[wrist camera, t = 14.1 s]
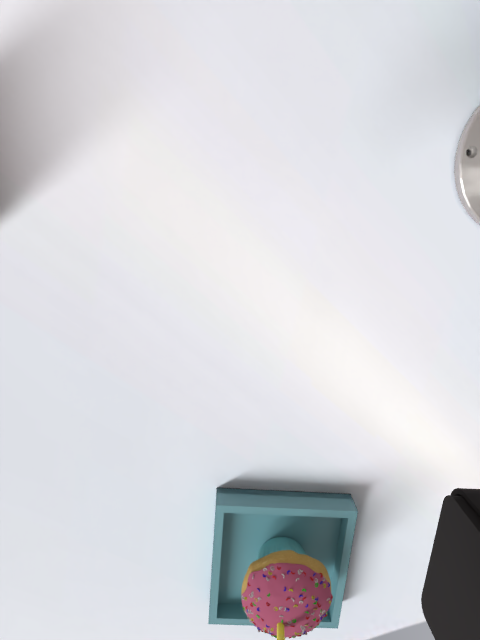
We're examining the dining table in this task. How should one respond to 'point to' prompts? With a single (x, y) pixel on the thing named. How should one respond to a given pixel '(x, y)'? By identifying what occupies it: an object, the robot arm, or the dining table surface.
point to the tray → (270, 522)
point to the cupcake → (285, 590)
